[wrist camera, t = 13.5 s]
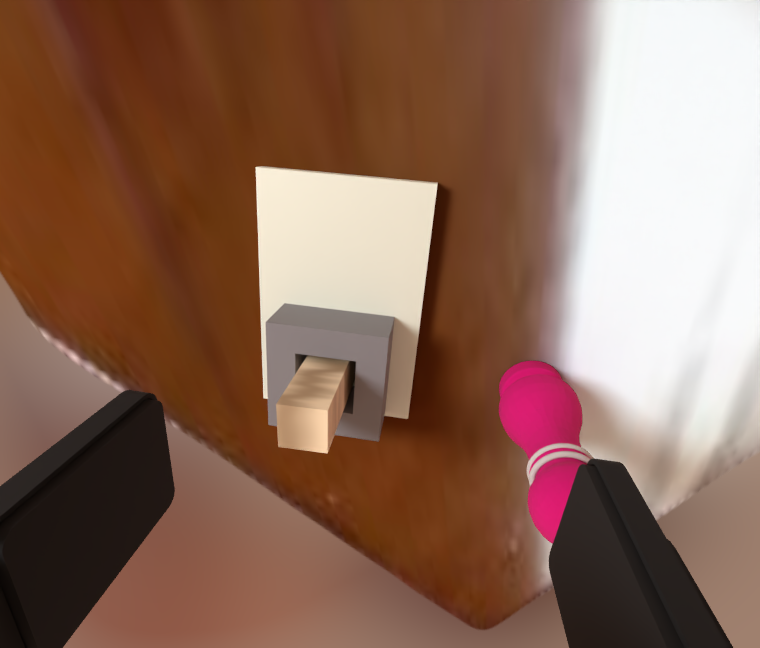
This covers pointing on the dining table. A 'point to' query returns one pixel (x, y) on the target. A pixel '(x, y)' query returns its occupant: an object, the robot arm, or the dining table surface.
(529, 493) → the pink bowling pin
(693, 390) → the dining table surface
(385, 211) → the board
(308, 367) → the square wooden peg
